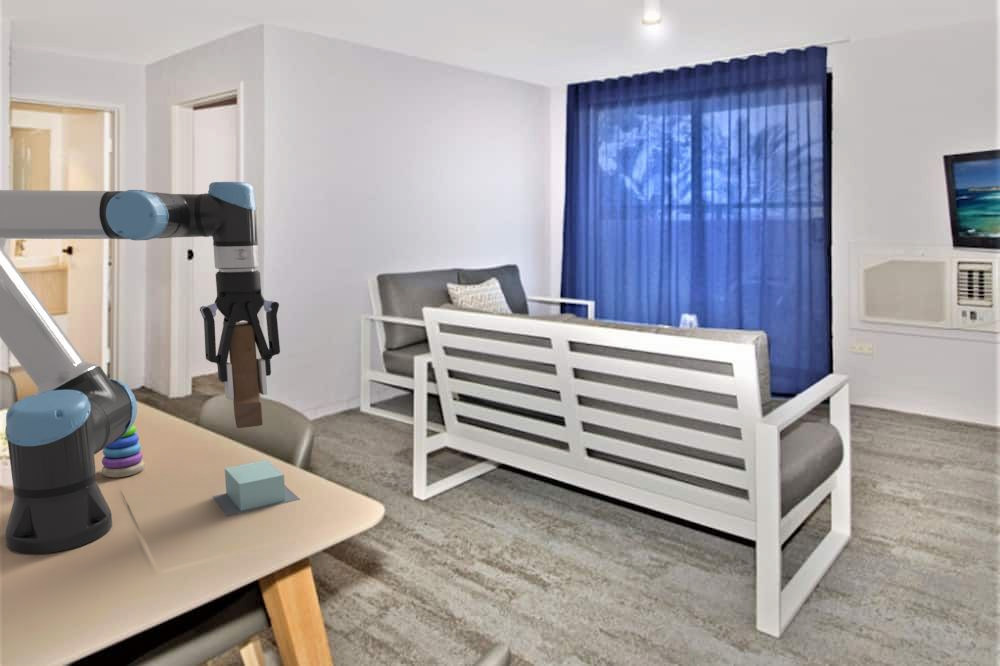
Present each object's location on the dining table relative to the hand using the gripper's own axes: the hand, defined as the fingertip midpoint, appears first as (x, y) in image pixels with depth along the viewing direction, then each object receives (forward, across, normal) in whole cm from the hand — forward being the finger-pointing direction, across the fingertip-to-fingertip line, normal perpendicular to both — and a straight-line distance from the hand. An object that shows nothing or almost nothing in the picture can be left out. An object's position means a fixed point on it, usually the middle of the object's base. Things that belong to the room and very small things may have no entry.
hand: (246, 395), depth 130 cm
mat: (+20, 0, -1) cm, 20 cm away
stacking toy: (+20, -17, +30) cm, 40 cm away
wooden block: (+5, 0, 0) cm, 5 cm away
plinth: (+19, 0, -1) cm, 20 cm away
